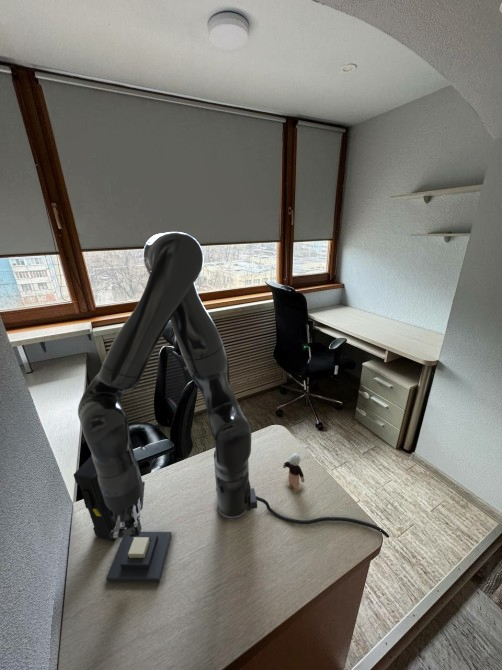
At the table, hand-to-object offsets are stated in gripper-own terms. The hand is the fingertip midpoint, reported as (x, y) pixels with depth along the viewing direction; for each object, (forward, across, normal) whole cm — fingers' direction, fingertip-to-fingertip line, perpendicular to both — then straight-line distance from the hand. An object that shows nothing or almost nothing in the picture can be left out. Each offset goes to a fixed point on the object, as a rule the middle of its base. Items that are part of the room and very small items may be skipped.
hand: (136, 532), depth 62 cm
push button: (+10, 0, 0) cm, 10 cm away
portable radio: (+10, +7, +11) cm, 16 cm away
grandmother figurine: (+10, +20, -40) cm, 45 cm away
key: (+7, 0, 0) cm, 7 cm away
